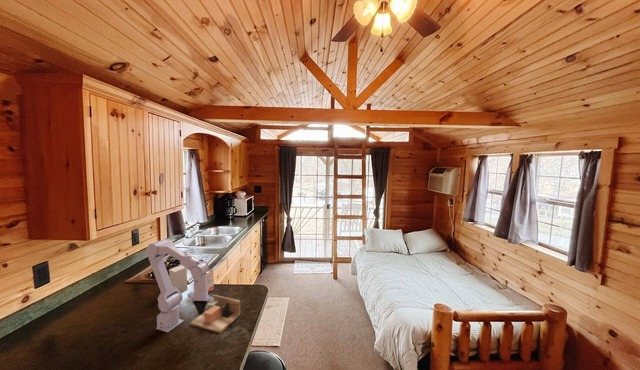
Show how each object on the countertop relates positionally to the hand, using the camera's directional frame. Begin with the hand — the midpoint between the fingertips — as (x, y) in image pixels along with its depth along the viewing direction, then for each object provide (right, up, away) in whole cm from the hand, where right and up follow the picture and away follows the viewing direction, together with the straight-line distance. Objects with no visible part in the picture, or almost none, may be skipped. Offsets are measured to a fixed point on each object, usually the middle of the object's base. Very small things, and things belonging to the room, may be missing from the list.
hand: (201, 313), depth 122 cm
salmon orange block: (+2, -7, +8) cm, 11 cm away
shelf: (+4, -8, +10) cm, 13 cm away
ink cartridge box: (-15, -6, +38) cm, 41 cm away
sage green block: (0, -6, +15) cm, 16 cm away
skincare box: (-32, -5, +37) cm, 49 cm away
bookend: (+9, -7, +12) cm, 16 cm away
